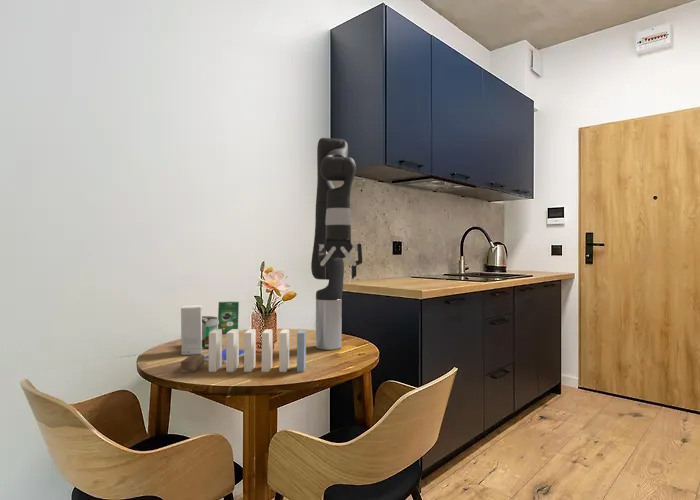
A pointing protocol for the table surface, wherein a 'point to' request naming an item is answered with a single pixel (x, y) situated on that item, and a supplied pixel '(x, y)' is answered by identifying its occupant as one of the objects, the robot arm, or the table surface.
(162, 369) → the table surface
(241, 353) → the hard drive
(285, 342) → the domino
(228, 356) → the domino
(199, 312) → the skincare box
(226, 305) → the coffee box
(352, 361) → the table surface
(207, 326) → the food container
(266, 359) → the domino
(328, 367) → the table surface
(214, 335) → the domino
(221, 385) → the table surface
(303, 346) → the domino
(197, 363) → the block
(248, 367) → the domino
